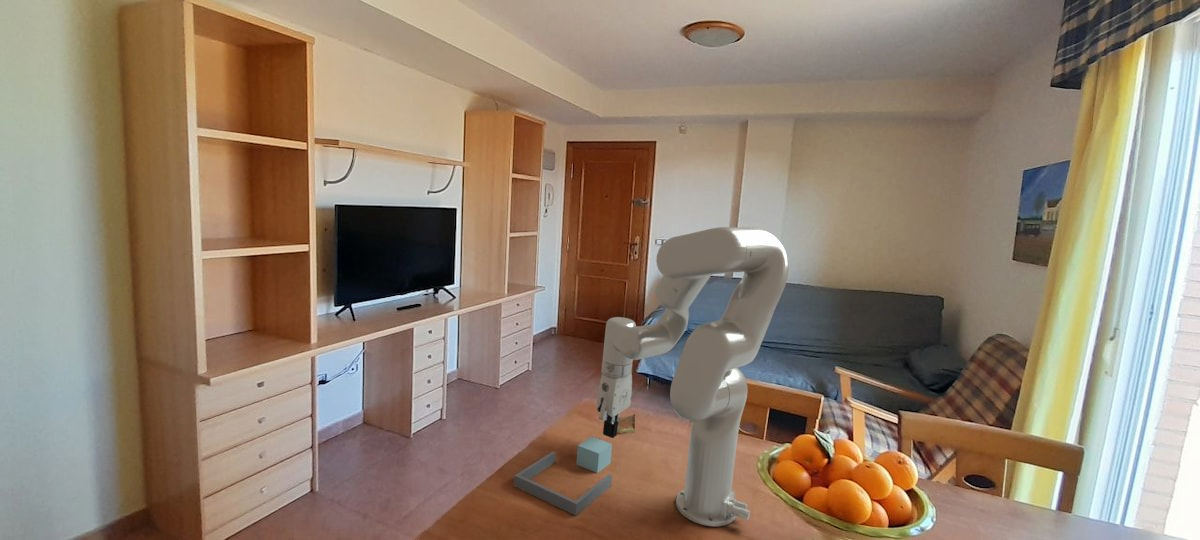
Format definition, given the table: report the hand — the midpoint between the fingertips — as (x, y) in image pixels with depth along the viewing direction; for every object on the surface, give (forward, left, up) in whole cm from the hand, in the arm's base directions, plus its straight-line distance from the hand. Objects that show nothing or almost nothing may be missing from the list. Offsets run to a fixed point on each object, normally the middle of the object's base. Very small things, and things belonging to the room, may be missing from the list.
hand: (609, 435), depth 129 cm
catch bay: (-1, +20, -4) cm, 21 cm away
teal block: (-1, +8, -4) cm, 9 cm away
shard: (+5, -15, -5) cm, 16 cm away
